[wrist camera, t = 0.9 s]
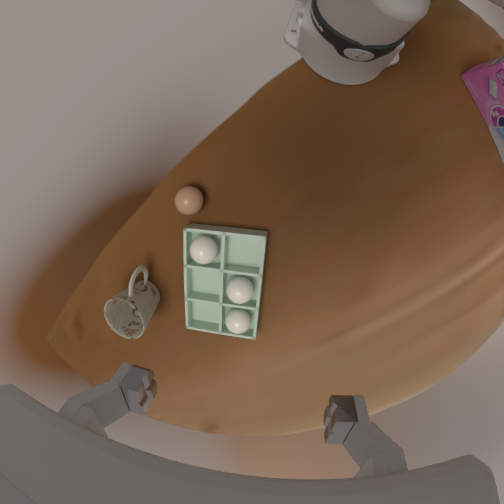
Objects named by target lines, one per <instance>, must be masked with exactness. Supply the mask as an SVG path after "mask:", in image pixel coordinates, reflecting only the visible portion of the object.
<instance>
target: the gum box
mask: <svg viewBox="0 0 504 504" xmlns="http://www.w3.org/2000/svg"><path fill="white" fill-rule="evenodd" d="M460 77H461V79H462V80H463V82H464V84H465V85H466V87H467V89H468V90H469V92H470V94H471V96H472V98H473V99H474V101H475V103H476V105H477V106H478V108H479V110H480V112H481V114H482V117H483V119H484V121H485V123H486V124H487V126H488V128H489V131H490V133H491V135H492V138H493V140H494V142H495V144H496V147H497V149H498V151H499V154H500V157H501V160H502V162H503V165H504V56H501V57H498V58H495V59H492V60H489V61H486V62H483V63H481V64H478V65H476V66H474V67H473V68H471V69H470V70H468V71H467V72H465V73H463V74H462V75H460Z"/></svg>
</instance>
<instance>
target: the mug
mask: <svg viewBox="0 0 504 504" xmlns="http://www.w3.org/2000/svg"><path fill="white" fill-rule="evenodd" d="M140 272H143V273H144V280H140V281H138V282H136V283H135V280H136V277H137V276H138V274H139V273H140ZM134 283H135V284H134ZM159 302H160V292H159V290H158V288H157V287H156V286H155V285H154V284H153V283H152V282H150V281H148V270H147V268H146V267H145V266H144V265H139V266H138V267H137V268H136V269H135V271H134V272H133V274H132V276H131V279H130V282H129V287H128V288H127V289H125V290H123V291H122V292H120V293H119V294H117V295H115V296H114V297H112V298H111V299H109V300H108V301H107V303H106V304H105V307H104V314H105V318H106V320H107V322H108V324H109V325H110V327H111V328H112V329H113V330H114V331H115V332H116V333H117V334H119V335H120V336H122V337H125V338H128V339H136V338H139V337H140V336H141V335H142V334H143V333H144V331H145V329H146V327H147V325H148V323H149V321H150V319H151V317H152V315H153V313H154V311H155V310H156V308H157V306H158V304H159Z"/></svg>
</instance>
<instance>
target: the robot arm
mask: <svg viewBox="0 0 504 504" xmlns="http://www.w3.org/2000/svg"><path fill="white" fill-rule="evenodd" d="M489 1H491V2H493V3H494V4H496V5H498V6H500V7H502V8H503V9H504V0H489ZM429 6H430V0H296V3H295V6H294V9H293V12H292V15H291V18H290V21H289V23H288V26H287V30H286V33H285V36H284V41H285V42H286V43H287V44H288V45H289V46H290V47H292V48H293V49H295V50H297V51H298V52H299V53H300V54H301V56H302V57H303V59H304V60H305V61H306V63H307V64H308V65H309V66H310V67H311V68H312V69H313V70H314V71H315V72H316V73H318V74H319V75H321V76H322V77H324V78H326V79H328V80H330V81H333V82H336V83H340V84H345V85H358V84H363V83H366V82H369V81H371V80H373V79H374V78H376V77H377V76H378V75H379V74H380V73H381V72H382V70H383V69H385V68H386V67H389V66H392V65H395V64H396V63H397V62H398V61H399V52H400V50H401V49H402V48H403V46H404V40H405V38H406V37H407V35H408V32H409V30H410V29H411V28H412V27H413V26H414V25H416V24H417V23H418V22H419V21H420V20H421V19H422V18H423V17H424V16H425V15H426V14H427V12H428V10H429ZM292 31H294V32H296V34H292V33H291V32H292ZM154 376H155V374H154V371H153V370H150V369H147V368H143V367H140V366H137V365H133V364H130V363H127V362H124V363H123V364H122V365H121V366H120V368H119V369H118V370H117V372H116V373H115V374H114V376H113V377H112V379H111V380H110V381H109V383H108V382H105V383H103V384H100V385H98V386H96V387H93V388H91V389H89V390H86V391H84V392H81V393H79V394H77V395H74V396H71V397H70V398H69V399H68V400H67V401H66V403H65V404H64V405H63V407H62V408H61V409H60V410H59V412H58V413H56V412H55V411H53V410H51V409H50V408H48V407H46V406H45V405H43V404H42V403H40V402H38V401H37V400H35V399H34V398H32V397H31V396H29V395H28V394H26V393H25V392H23V391H22V390H20V389H19V388H17V387H16V386H14V385H12V384H4V385H0V504H500V501H499V497H498V491H497V487H496V483H495V479H494V476H493V473H492V471H491V469H490V467H489V466H488V465H486V464H485V463H484V462H482V461H481V460H479V459H478V458H476V457H475V456H473V455H464V456H461V457H458V458H455V459H451V460H448V461H445V462H441V463H437V464H434V465H430V466H425V467H422V468H417V469H412V470H408V469H407V464H406V460H405V456H404V451H403V449H402V448H401V447H399V446H398V445H397V444H396V443H395V442H394V441H393V440H392V439H391V438H390V437H389V436H387V435H386V434H385V433H384V432H383V431H382V430H381V429H380V428H379V427H378V426H377V425H375V423H373V422H370V421H369V416H368V411H367V407H366V403H365V398H364V396H363V395H353V396H352V395H331V397H330V399H329V405H328V406H326V409H325V412H324V426H325V427H326V430H325V432H324V437H325V444H342V445H343V446H344V447H345V449H346V450H347V451H348V453H349V454H350V455H351V456H352V458H353V459H354V460H355V462H356V463H357V464H358V466H359V467H360V468H361V469H360V470H359V471H358V473H357V474H356V475H355V476H354V477H353V478H346V479H324V480H323V479H322V480H321V479H320V480H305V479H304V480H303V479H280V478H279V479H278V478H267V477H256V476H247V475H240V474H234V473H227V472H222V471H216V470H211V469H206V468H202V467H197V466H192V465H188V464H184V463H181V462H177V461H173V460H169V459H166V458H163V457H159V456H156V455H153V454H150V453H147V452H144V451H141V450H138V449H135V448H132V447H130V446H127V445H124V444H122V443H119V442H117V441H114V440H112V439H109V438H108V436H107V434H106V433H105V431H104V429H103V428H104V427H106V426H108V425H109V424H111V423H113V422H114V421H116V420H117V419H119V418H121V417H122V416H123V415H125V414H127V413H129V411H132V412H135V413H138V414H141V415H146V413H147V411H148V409H149V407H150V404H149V402H150V401H152V400H153V399H154V398H155V396H156V392H157V383H156V381H155V380H154V379H153V378H154Z"/></svg>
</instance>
